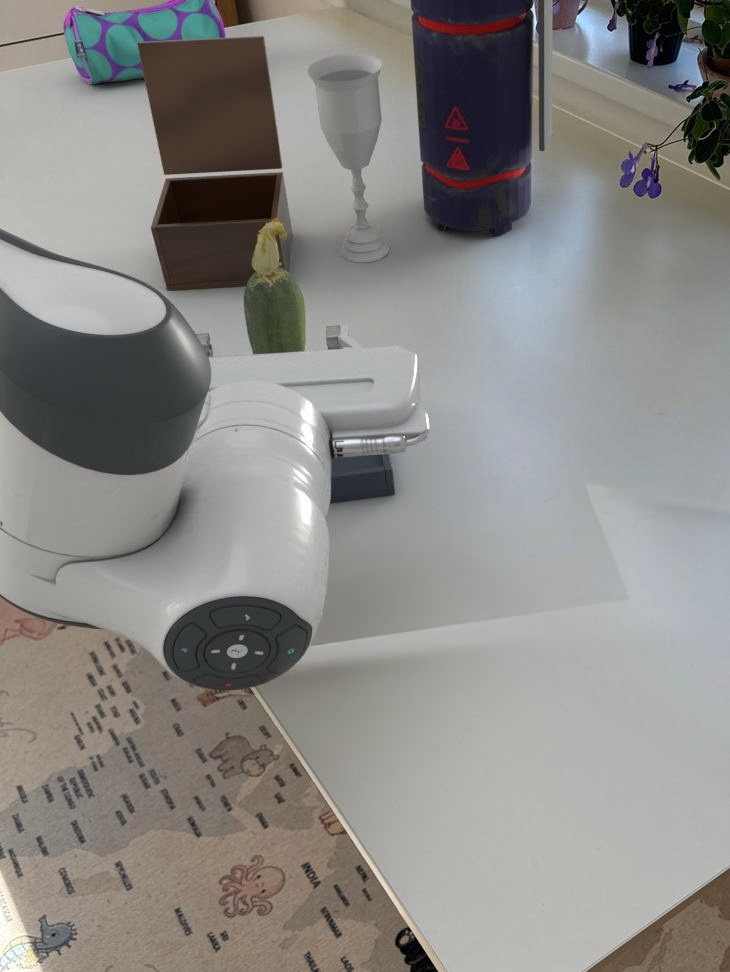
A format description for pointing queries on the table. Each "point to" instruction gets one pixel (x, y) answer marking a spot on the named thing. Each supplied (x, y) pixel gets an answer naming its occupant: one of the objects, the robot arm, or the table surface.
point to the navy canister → (479, 107)
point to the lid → (211, 104)
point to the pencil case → (133, 35)
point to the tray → (361, 477)
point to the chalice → (352, 135)
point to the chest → (217, 227)
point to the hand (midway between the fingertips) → (269, 338)
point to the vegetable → (273, 299)
